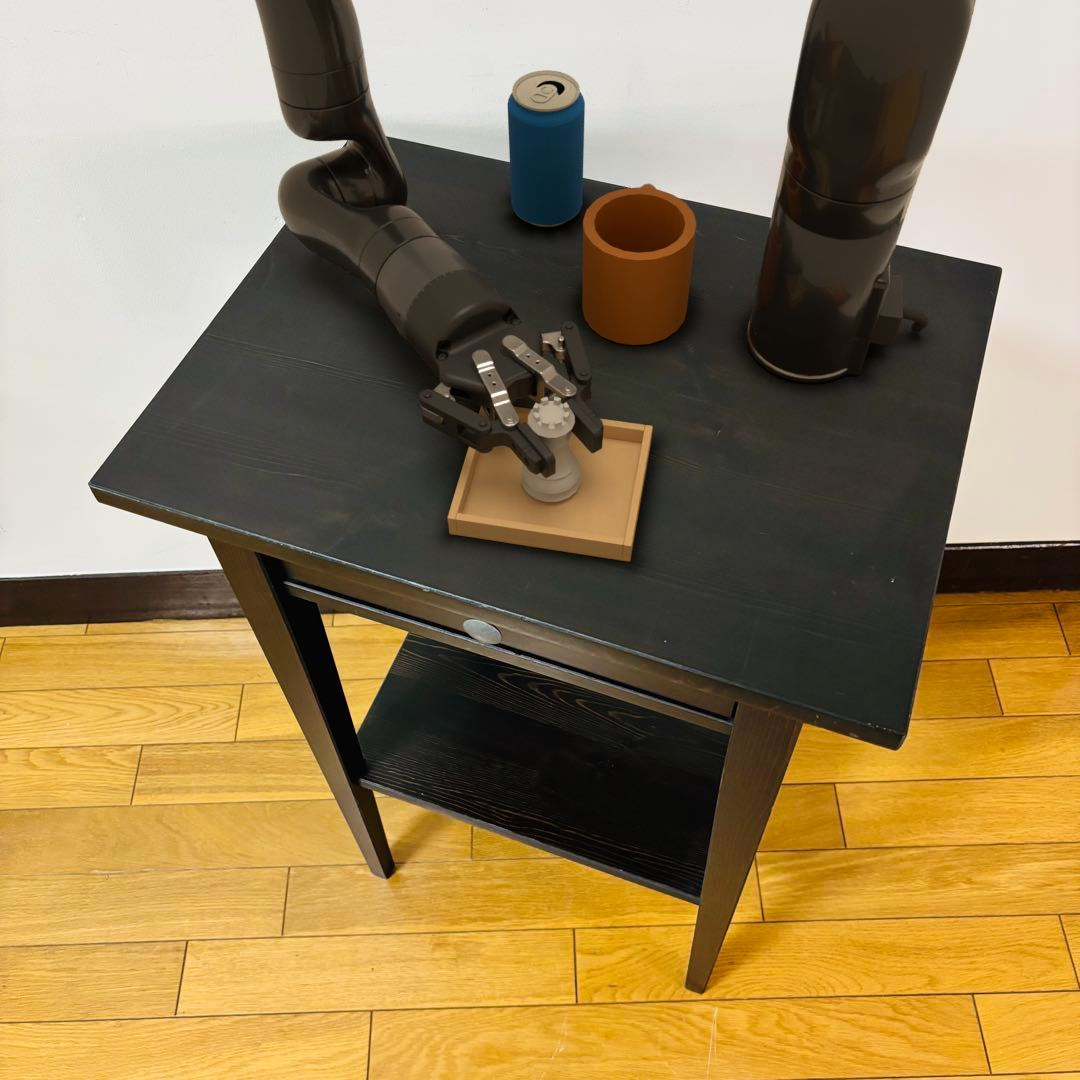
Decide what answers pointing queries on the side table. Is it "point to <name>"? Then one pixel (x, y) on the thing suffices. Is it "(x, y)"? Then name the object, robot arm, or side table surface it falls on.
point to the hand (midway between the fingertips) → (574, 455)
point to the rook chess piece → (555, 432)
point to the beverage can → (546, 147)
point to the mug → (637, 264)
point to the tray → (568, 525)
